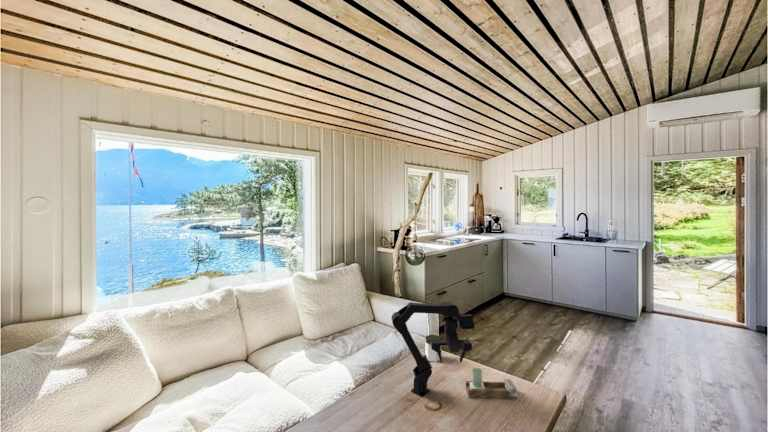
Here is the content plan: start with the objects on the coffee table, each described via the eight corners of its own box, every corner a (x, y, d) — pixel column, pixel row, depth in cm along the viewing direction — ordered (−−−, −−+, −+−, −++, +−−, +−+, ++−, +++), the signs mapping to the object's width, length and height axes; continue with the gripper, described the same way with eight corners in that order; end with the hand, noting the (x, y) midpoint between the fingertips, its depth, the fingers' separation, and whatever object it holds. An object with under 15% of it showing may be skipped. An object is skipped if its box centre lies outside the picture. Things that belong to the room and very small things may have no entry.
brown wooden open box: (468, 398, 143) (468, 387, 143) (465, 388, 151) (465, 377, 151) (516, 399, 142) (517, 388, 142) (511, 389, 150) (511, 379, 150)
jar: (443, 361, 178) (442, 339, 178) (429, 362, 176) (429, 341, 176) (436, 354, 187) (436, 333, 187) (423, 355, 185) (423, 335, 185)
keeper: (471, 392, 145) (471, 372, 145) (469, 386, 150) (469, 366, 150) (485, 392, 144) (485, 372, 144) (482, 386, 149) (482, 367, 149)
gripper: (433, 336, 141) (433, 371, 142) (476, 336, 141) (475, 371, 142) (430, 327, 152) (429, 359, 153) (469, 327, 152) (468, 359, 153)
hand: (450, 362), depth 150 cm, fingers open, 9 cm apart
